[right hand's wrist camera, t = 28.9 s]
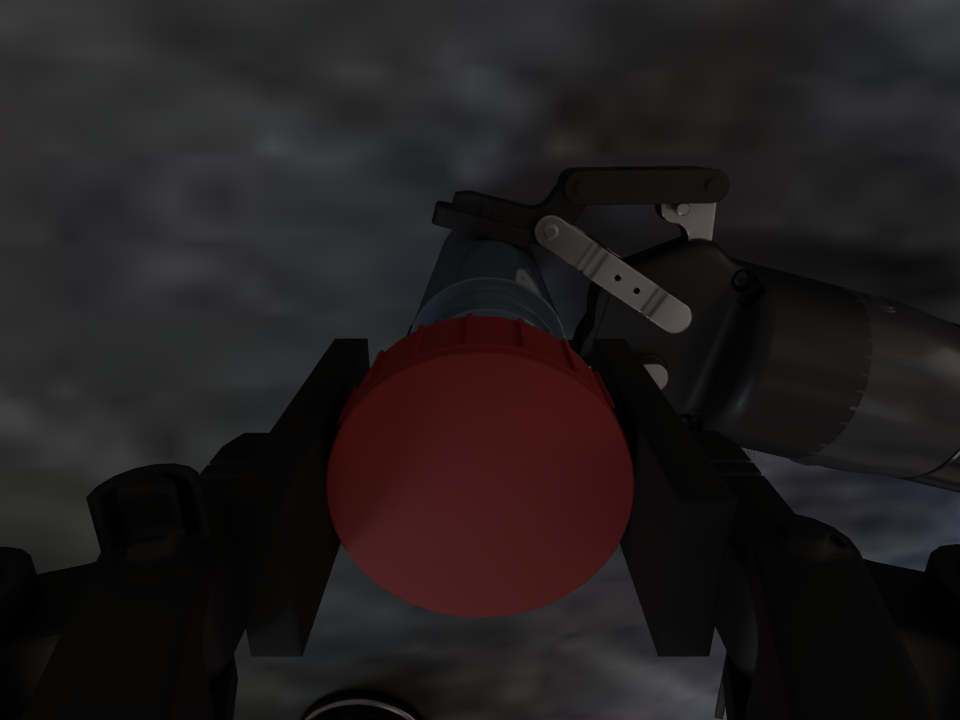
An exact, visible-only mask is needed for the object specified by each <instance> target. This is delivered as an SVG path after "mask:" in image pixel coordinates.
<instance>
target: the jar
mask: <svg viewBox="0 0 960 720" xmlns="http://www.w3.org/2000/svg"><path fill="white" fill-rule="evenodd" d="M467 313H473V316H490V317H502V318H507V319H511V320H516V321H517V319H518V317H519V318H523V319H524V323H526V324H529V325H532V326H535V327H537V328H539V329H541V330H543V331H545V332H547V333H549V334H551V335H553V336H555V337H556V338H558V339H559V340H562V339H563V338H565V339H566V335H565V332H564V329H563V326H562V323H561V321H560V318H559V316H558V314H557V311H556V309H555V306H554V304H553V301H552V299H551V297H550V294H549V292H548V289H547V287H546V284H545V282H544V280H543V277H542V275H541V272H540V270H539V267H538V265H537V263H536V260H535V258H534V255H533V253H532V250H531V248H530V246H529V243H527V247H526V248H523V247H519V246H515V245H511V244H507V243H504V242H501V241H495V240H492V239H488V238H484V237H480V236H476V235H472V234H468V233H464V232H460V231H457V230H453V231H452V232H451V233H450V234H449V235H448V237H447V239H446V240H445V242H444V244H443V247H442V249H441V252H440V254H439V257H438V260H437V262H436V265H435V268H434V270H433V273H432V275H431V278H430V281H429V283H428V286H427V288H426V291H425V294H424V296H423V299H422V301H421V304H420V307H419V309H418V312H417V315H416V317H415V320H414V322H413V325H412V328H411V331H410V334H411V333H413V332H415V331H417V328H418V326H419V325H421V324H424V326H425V327H426V326H428V325H431V324H434V323H438V322H441V321H444V320H448V319H454V318H460V317H467Z"/></svg>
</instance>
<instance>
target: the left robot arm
mask: <svg viewBox="0 0 960 720" xmlns="http://www.w3.org/2000/svg"><path fill="white" fill-rule="evenodd" d="M728 189H729V179H728V177H727V175H726V174H725V173H724V172H723V171H721V170H718V169H712V168H705V167H697V166H658V167H579V168H568V169H566V170H564V171H563V172H562V173H561V174H560V176H559V178H558V181H557V184H556V185H555V187H554V188H553V190H552V191H551V193H550V194H549V196H548V197H547V198H546V199H545V200H544V201H543V202H542V203H540V204H537V205H533V206H528V205H524V204H520V203H516V202H512V201H508V200H505V199H501V198H497V197H493V196H489V195H486V194H482V193H478V192H474V191H470V190H467V191H459V192H455V194H454V198H453V202H452V203H449V202H445V201H438V202H437V203H436V205H435V209H434V214H433V218H432V223H433V224H435V225H438V226H441V227H445V228H449V229H453V230H457V231H460V232H464V233H468V234H472V235H476V236H480V237H484V238H488V239H492V240H495V241H501V242H504V243H507V244H511V245H515V246H519V247H523V248H526V247H527V243H528V242H529V243H533V244H536V245H540V246H543V247H545V248H546V249H548V250H549V251H551V252H552V253H554V254H555V255H557V256H558V257H560V258H561V259H563V260H564V261H566V262H567V263H569V264H570V265H572V266H573V267H575V268H576V269H577V270H579V271H580V272H581V273H582V274H584V275H585V276H586V277H588V278H589V279H590V280H592V281H591V284H590V287H589V290H588V296H587V311H586V314H585V315H584V317H583V318H582V320H581V321H580V323H579V324H578V326H577V328H576V331H575V334H574V337H573V340H568V342H569V345H570V347H571V349H572V350H573V351H575V352H576V353H577V354H578V355H579V356H580V357H581V358H582V359H583V360H584V362H585V363H586V364H587V365H588V366H589V368H590V369H591V359H592V345H593V339H626V340H627V342H628V343H629V345H630V346H631V348H632V349H633V350H634V352H635V353H636V355H637V356H638V358H639V359H640V361H641V362H642V363H643V365H644V366H645V368H646V369H647V371H648V372H649V373H650V375H651V376H652V378H653V379H654V381H655V382H656V384H657V385H658V386H659V388H660V389H661V391H662V392H663V394H664V395H665V396H666V398H667V399H668V401H669V402H670V404H671V405H672V407H673V408H674V409H675V411H676V412H677V414H678V415H679V417H680V418H681V419H682V421H683V422H684V424H685V425H686V427H687V428H688V430H689V431H717V432H719V433H720V434H722V435H724V436H725V437H727V438H728V439H730V440H732V441H733V442H735V443H737V444H738V445H739V446H740V447H742V448H747V449H751V450H755V451H759V452H764V453H768V454H772V455H776V456H780V457H785V458H789V459H790V460H792V461H794V462H797V463H800V464H803V465H808V466H810V465H813V466H817V465H819V466H823V467H827V468H831V469H836V470H841V471H846V472H854V473H863V474H875V475H885V476H890V477H895V478H899V479H903V480H907V481H912V482H916V483H920V484H924V485H929V486H933V487H937V488H941V489H945V490H950V491H956V492H960V324H956V323H952V322H949V321H945V320H942V319H939V318H936V317H934V316H931V315H929V314H927V313H925V312H922V311H920V310H918V309H915V308H913V307H910V306H908V305H905V304H902V303H899V302H896V301H893V300H890V299H886V298H883V297H880V296H878V295H874V294H867V293H863V292H859V291H855V290H851V289H847V288H843V287H839V286H836V285H833V284H829V283H825V282H821V281H818V280H813V279H810V278H806V277H802V276H798V275H794V274H791V273H787V272H783V271H779V270H775V269H772V268H768V267H764V266H760V265H756V264H753V263H749V262H745V261H741V260H737V259H734V258H731V257H730V256H729V255H727V254H726V253H725V252H724V250H723V249H722V248H721V247H720V246H719V245H718V244H716V243H715V242H713V241H712V233H713V225H714V217H715V209H716V202H718V201H720V200H721V199H723V198H724V197H725V195H726V194H727V192H728ZM627 204H655V210H656V213H657V214H658V216H659V217H661V218H662V219H664V220H666V221H668V222H671V223H676V224H677V225H678V226H679V228H680V230H681V237H678V238H675V239H673V240H670V241H667V242H665V243H662V244H660V245H657V246H654V247H652V248H649V249H646V250H644V251H641V252H639V253H636V254H633V255H631V256H628V257H625V258H622V257H621V256H620V255H618V254H617V253H615V252H614V251H612V250H611V249H609V248H608V247H606V246H605V245H604V244H602V243H601V242H599V241H598V240H596V239H595V238H593V237H592V236H590V235H589V234H587V233H585V232H584V231H582V230H581V229H580V228H578V227H577V226H575V225H574V224H573V223H574V222H575V221H576V219H577V218H578V216H579V215H580V214H581V212H582V211H583V210H584V208H585V207H586V205H627ZM412 325H413V324H412ZM412 325H411V326H410V329H409V331H408V334H407V336H408V335H409V334H410V331H411V328H412ZM301 720H423V718H422V717H421V716H420V715H419V714H418V713H417V712H416V711H415V710H414V709H412V708H411V707H410V706H408V705H407V704H405V703H403V702H401V701H399V700H397V699H395V698H392V697H390V696H386V695H383V694H379V693H373V692H358V691H356V692H346V693H340V694H336V695H333V696H330V697H327V698H325V699H323V700H321V701H319V702H317V703H316V704H314V705H313V706H312V707H311V708H310V709H309V710H308V711H307V712H306V713H305V714H304V715H303V717H302V718H301Z"/></svg>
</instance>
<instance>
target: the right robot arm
mask: <svg viewBox="0 0 960 720" xmlns="http://www.w3.org/2000/svg"><path fill="white" fill-rule="evenodd" d="M369 370H370V368H369V354H368V340H367V339H335V340H334V341H333V342H332V344H331V345H330V347H329V348H328V350H327V351H326V352H325V354H324V355H323V357H322V358H321V360H320V361H319V363H318V364H317V365H316V367H315V368H314V370H313V371H312V373H311V374H310V375H309V377H308V378H307V380H306V381H305V383H304V384H303V386H302V387H301V388H300V390H299V391H298V393H297V394H296V396H295V397H294V398H293V400H292V401H291V403H290V404H289V406H288V407H287V409H286V410H285V411H284V413H283V414H282V416H281V417H280V419H279V420H278V421H277V423H276V424H275V426H274V427H273V429H272V430H271V432H270V433H244V434H242V435H240V436H239V437H237V438H236V439H234V440H232V441H231V442H229V443H227V444H226V445H224V446H223V447H222V448H221V449H220V450H219V452H218V453H217V454H216V455H215V456H214V458H213V459H212V460H211V461H210V465H207V466H206V468H205V469H204V470H203V471H202V472H201V474H200V475H199V473H198V472H197V471H195V470H194V469H193V468H191V467H190V466H185V465H180V464H175V463H173V464H154V465H149V466H144V467H139V468H135V469H132V470H129V471H127V472H124V473H121V474H119V475H116V476H114V477H112V478H110V479H108V480H107V481H105V482H103V483H102V484H100V485H98V486H97V487H96V488H95V489H94V490H93V491H92V492H91V493H90V494H89V495H88V496H87V497H86V499H87V502H88V506H89V510H90V513H91V517H92V520H93V524H94V528H95V531H96V535H97V538H98V542H99V546H100V549H101V553H100V555H99V557H98V559H97V561H96V562H93V563H90V564H86V565H81V566H76V567H71V568H66V569H61V570H56V571H51V572H46V573H41V574H37V573H36V570H35V567H34V564H33V561H32V558H31V556H30V555H29V554H28V553H26V552H25V551H24V550H22V549H19V548H11V547H0V720H233V716H234V708H235V699H236V691H237V683H238V676H237V669H236V663H235V658H234V652H235V650H236V648H237V646H238V643H239V641H240V639H241V637H242V635H243V633H244V631H245V629H246V631H247V636H248V642H249V647H250V653H251V656H303V653H304V650H305V647H306V644H307V641H308V638H309V635H310V632H311V629H312V626H313V623H314V620H315V617H316V614H317V611H318V608H319V605H320V602H321V599H322V596H323V593H324V590H325V587H326V584H327V582H328V579H329V576H330V573H331V570H332V567H333V564H334V561H335V558H336V555H337V552H338V549H339V546H340V543H341V541H340V539H339V537H338V535H337V533H336V531H335V529H334V526H333V523H332V520H331V517H330V514H329V510H328V502H327V493H326V470H327V463H328V458H329V455H330V451H331V448H332V445H333V442H334V440H335V437H336V435H337V433H338V431H339V429H340V427H341V426H338V425H336V424H337V422H338V419H339V417H340V415H341V413H342V411H343V409H344V407H345V405H346V403H347V401H348V399H349V397H350V395H351V393H352V391H353V389H354V387H357V388H359V387H360V385H361V382H362V380H363V379H364V377H365V376H366V374H367V373H368V371H369ZM591 370H592V372H593V373H594V372H596V371H597V372H598V373H599V375H600V377H601V379H602V381H603V383H604V385H605V387H606V389H607V391H608V393H609V395H610V397H611V399H612V401H613V403H614V405H615V408H613V409H612V410H613V411H614V413H615V415H616V417H617V419H618V421H619V424H620V426H621V428H622V430H623V432H624V434H625V436H626V438H627V440H628V443H629V445H630V447H631V450H630V453H631V456H632V460H633V464H634V474H635V488H634V497H633V506H632V512H631V517H630V519H629V522H628V525H627V528H626V530H625V533H624V535H623V537H622V539H621V540H620V545H621V548H622V551H623V554H624V557H625V560H626V563H627V566H628V569H629V572H630V574H631V577H632V580H633V583H634V586H635V589H636V592H637V595H638V598H639V601H640V604H641V607H642V610H643V613H644V616H645V619H646V622H647V625H648V628H649V631H650V634H651V637H652V640H653V643H654V646H655V648H656V651H657V654H658V656H709V655H710V649H711V644H712V638H713V633H714V627H716V629H717V631H718V633H719V635H720V637H721V640H722V642H723V644H724V646H725V648H726V650H727V653H726V658H725V663H724V668H723V673H722V679H721V684H720V689H719V694H718V699H717V704H716V711H715V718H718V719H722V720H723V716H724V711H725V707H726V715H727V720H960V544H953V545H945V546H940V547H938V548H937V549H935V550H934V551H933V552H931V554H930V557H929V560H928V563H927V566H926V569H925V572H923V571H918V570H913V569H908V568H903V567H898V566H893V565H888V564H883V563H878V562H873V561H870V560H866V559H863V558H862V556H861V554H860V552H859V550H858V549H857V548H856V546H855V545H854V544H853V543H852V541H851V540H850V539H849V538H848V537H847V536H845V535H844V534H842V533H841V532H839V531H838V530H837V529H835V528H834V527H832V526H829V525H827V524H825V523H823V522H820V521H818V520H816V519H813V518H809V517H805V516H801V515H797V514H795V513H794V512H793V511H792V510H791V508H790V507H789V506H788V505H787V503H786V502H785V501H784V500H783V499H782V497H781V496H780V495H779V494H778V492H777V491H776V490H775V489H774V488H773V486H772V485H771V484H770V483H769V482H768V480H767V479H766V478H765V477H764V476H762V475H761V472H760V471H759V469H758V468H757V467H756V466H755V464H754V463H751V460H750V458H749V457H748V456H747V455H746V453H745V452H744V451H743V450H742V449H741V447H740V446H739V445H738V444H737V443H735V442H733V441H732V440H730V439H728V438H727V437H725V436H724V435H722V434H720V433H719V432H717V431H689V430H688V428H687V427H686V425H685V424H684V422H683V421H682V419H681V418H680V417H679V415H678V414H677V412H676V411H675V409H674V408H673V407H672V405H671V404H670V402H669V401H668V399H667V398H666V396H665V395H664V394H663V392H662V391H661V389H660V388H659V386H658V385H657V384H656V382H655V381H654V379H653V378H652V376H651V375H650V373H649V372H648V371H647V369H646V368H645V366H644V365H643V363H642V362H641V361H640V359H639V358H638V356H637V355H636V353H635V352H634V350H633V349H632V348H631V346H630V345H629V343H628V342H627V340H626V339H593V345H592V359H591Z"/></svg>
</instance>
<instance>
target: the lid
mask: <svg viewBox="0 0 960 720" xmlns="http://www.w3.org/2000/svg"><path fill="white" fill-rule="evenodd" d="M613 408H615V405H614V403H613V401H612V399H611V397H610V395H609V393H608V391H607V389H606V387H605V385H604V383H603V381H602V379H601V377H600V375H599V373H598V372H597V371H596V372H594V373H593V372H592V370H591V369H590V368H589V366H588V365H587V364H586V363H585V362H584V360H583V359H582V358H581V357H580V356H579V355H578V354H577V353H576V352H575V351H573V350H572V349H571V347H570V345H569V342H568V340H566V339H565V338H563V339H562V340H559V339H558V338H556V337H555V336H553V335H551V334H549V333H547V332H545V331H543V330H541V329H539V328H537V327H535V326H532V325H529V324H526V323H524V319H523V318H519V317H518V319H517V321H516V320H511V319H507V318H502V317H490V316H473V313H467V317H460V318H454V319H448V320H444V321H441V322H438V323H434V324H431V325H428V326H426V327H425V326H424V324H421V325H419V326H418V328H417V331H415V332H413V333H411V334H409V335H408V336H406V337H405V338H403V339H401V340H400V341H398V342H397V343H395V344H394V345H393V346H392V347H391V348H389V349H388V350H387V351H386V352H384V351H383V350H381V351H380V352H379V353H378V355H377V357H376V359H375V362H374V364H373V366H372V367H371V368H370V370H369V371H368V373H367V374H366V376H365V377H364V379H363V380H362V382H361V385H360V387H359V388H357V387H354V389H353V391H352V393H351V395H350V397H349V399H348V401H347V403H346V405H345V407H344V409H343V411H342V413H341V415H340V417H339V419H338V422H337V424H336V425H338V426H341V427H340V429H339V431H338V433H337V435H336V437H335V440H334V442H333V445H332V448H331V451H330V455H329V458H328V463H327V470H326V493H327V502H328V510H329V514H330V517H331V520H332V523H333V526H334V529H335V531H336V533H337V535H338V537H339V539H340V541H341V543H342V545H343V547H344V548H345V549H346V551H347V552H348V554H349V555H350V557H351V558H352V559H353V561H354V562H355V563H356V564H357V565H358V566H359V567H360V569H361V570H362V571H363V572H364V573H365V574H367V575H368V576H369V577H370V578H371V579H372V580H373V581H375V582H376V583H377V584H378V585H380V586H381V587H383V588H384V589H386V590H387V591H389V592H390V593H392V594H394V595H395V596H397V597H399V598H401V599H403V600H405V601H407V602H409V603H412V604H414V605H417V606H419V607H422V608H425V609H428V610H432V611H435V612H439V613H443V614H449V615H455V616H463V617H498V616H505V615H512V614H517V613H521V612H525V611H529V610H533V609H536V608H538V607H541V606H544V605H547V604H549V603H551V602H553V601H555V600H558V599H560V598H562V597H564V596H566V595H567V594H569V593H570V592H572V591H573V590H575V589H576V588H578V587H580V586H581V585H582V584H583V583H585V582H586V581H587V580H588V579H590V578H591V577H592V576H593V575H594V574H595V573H596V572H597V571H598V570H599V569H600V568H601V567H602V566H603V565H604V564H605V563H606V562H607V560H608V559H609V557H610V556H611V555H612V553H613V552H614V551H615V549H616V548H617V546H618V544H619V542H620V540H621V539H622V537H623V535H624V533H625V530H626V528H627V525H628V522H629V519H630V517H631V512H632V506H633V497H634V488H635V474H634V464H633V460H632V456H631V453H630V450H631V447H630V445H629V443H628V440H627V438H626V436H625V434H624V432H623V430H622V428H621V426H620V424H619V421H618V419H617V417H616V415H615V413H614V411H613V410H612V409H613Z"/></svg>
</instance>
